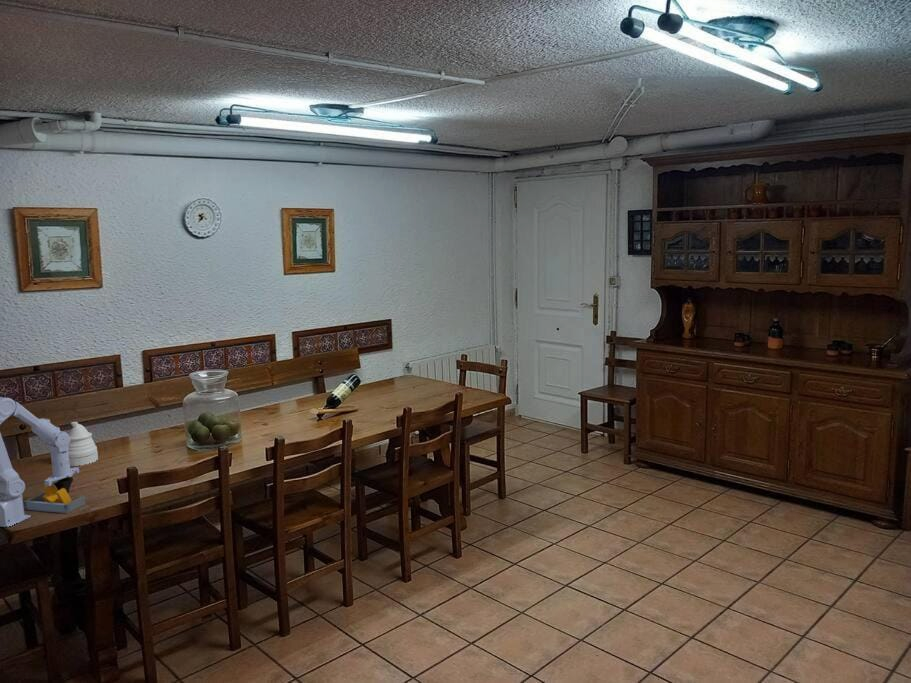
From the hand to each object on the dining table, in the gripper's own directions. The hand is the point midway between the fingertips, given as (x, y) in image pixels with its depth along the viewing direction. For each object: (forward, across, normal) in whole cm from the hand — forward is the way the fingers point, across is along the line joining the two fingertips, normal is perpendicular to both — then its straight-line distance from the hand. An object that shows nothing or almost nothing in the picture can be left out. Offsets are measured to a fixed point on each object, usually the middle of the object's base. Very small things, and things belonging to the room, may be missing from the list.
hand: (64, 497), depth 260 cm
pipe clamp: (+1, -3, -1) cm, 3 cm away
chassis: (+2, -4, 0) cm, 5 cm away
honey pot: (+2, +41, +29) cm, 50 cm away
